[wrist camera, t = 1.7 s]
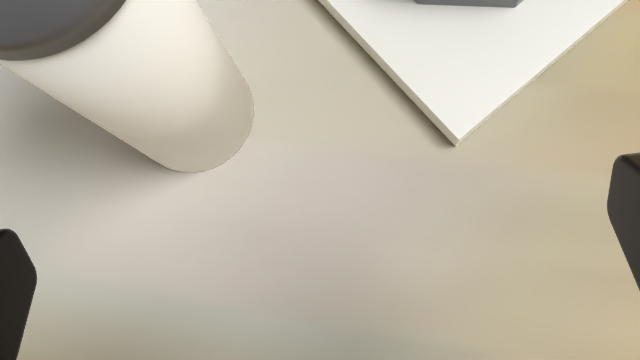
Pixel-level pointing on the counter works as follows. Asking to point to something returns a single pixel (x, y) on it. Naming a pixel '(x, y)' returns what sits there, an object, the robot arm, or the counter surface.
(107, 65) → the canister
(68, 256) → the counter surface
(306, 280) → the counter surface
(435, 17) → the collar
